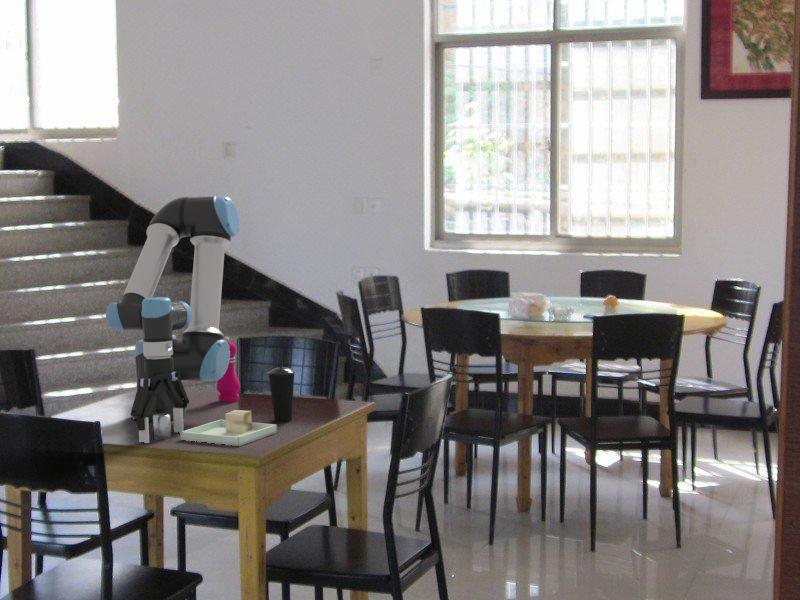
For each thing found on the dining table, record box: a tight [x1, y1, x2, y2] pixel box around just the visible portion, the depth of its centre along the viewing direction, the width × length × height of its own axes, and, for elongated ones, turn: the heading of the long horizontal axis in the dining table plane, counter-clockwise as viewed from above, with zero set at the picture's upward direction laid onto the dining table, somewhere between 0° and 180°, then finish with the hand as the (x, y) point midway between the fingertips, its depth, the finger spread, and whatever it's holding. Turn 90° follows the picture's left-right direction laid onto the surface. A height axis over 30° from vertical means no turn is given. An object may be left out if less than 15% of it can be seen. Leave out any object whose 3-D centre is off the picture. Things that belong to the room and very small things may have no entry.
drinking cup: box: [267, 348, 296, 423], centre depth 304 cm, size 8×8×20 cm
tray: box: [179, 419, 278, 447], centre depth 284 cm, size 19×17×2 cm
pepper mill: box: [216, 336, 241, 403], centre depth 336 cm, size 7×7×20 cm
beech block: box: [224, 409, 252, 433], centre depth 288 cm, size 5×5×5 cm
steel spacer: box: [152, 413, 172, 440], centre depth 285 cm, size 4×4×6 cm
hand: (161, 437), depth 285 cm, fingers open, 13 cm apart
